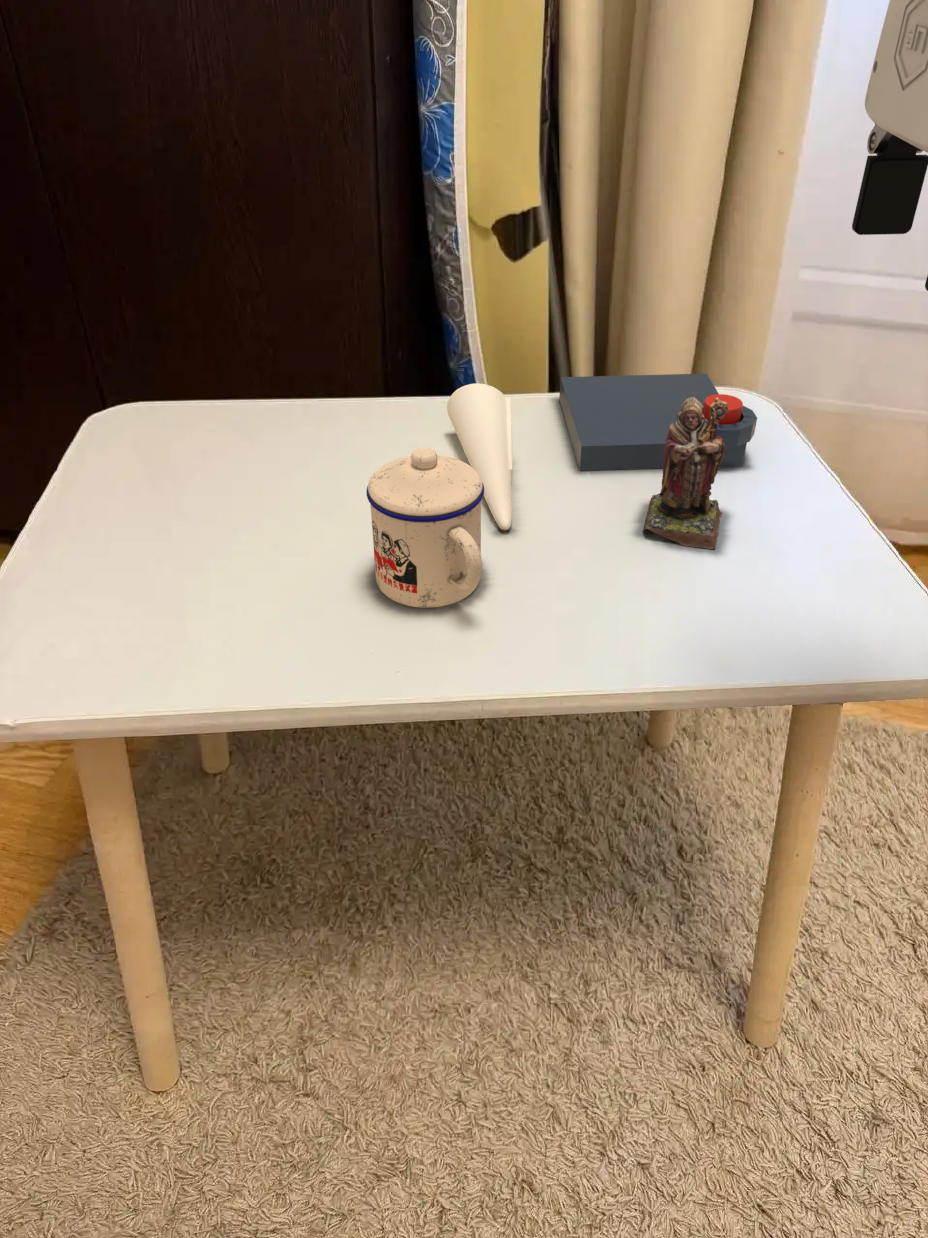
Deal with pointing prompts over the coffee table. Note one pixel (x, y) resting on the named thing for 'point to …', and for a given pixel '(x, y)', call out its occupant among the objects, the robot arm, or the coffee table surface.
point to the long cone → (486, 442)
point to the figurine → (689, 478)
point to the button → (733, 407)
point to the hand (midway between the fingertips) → (916, 260)
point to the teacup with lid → (426, 529)
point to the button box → (638, 419)
